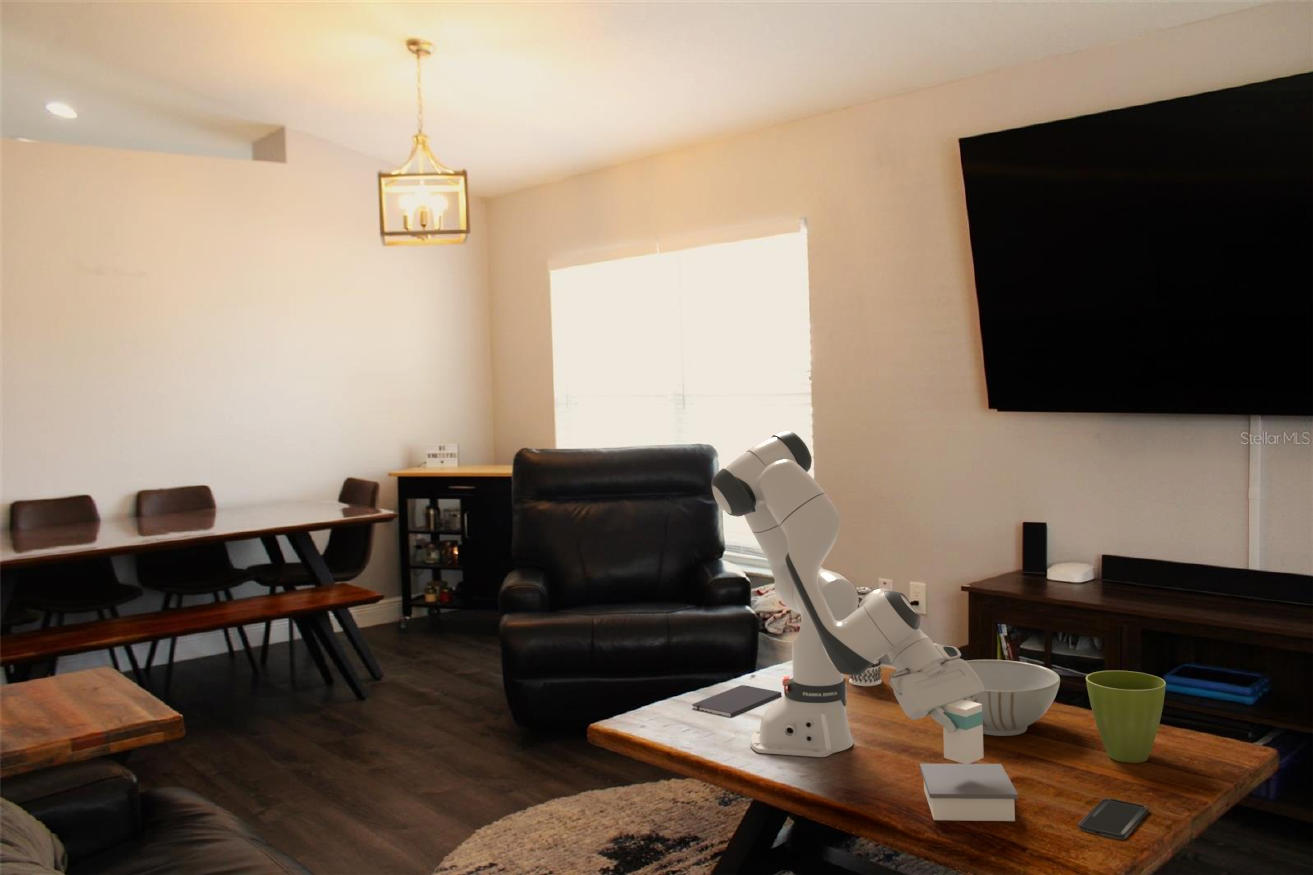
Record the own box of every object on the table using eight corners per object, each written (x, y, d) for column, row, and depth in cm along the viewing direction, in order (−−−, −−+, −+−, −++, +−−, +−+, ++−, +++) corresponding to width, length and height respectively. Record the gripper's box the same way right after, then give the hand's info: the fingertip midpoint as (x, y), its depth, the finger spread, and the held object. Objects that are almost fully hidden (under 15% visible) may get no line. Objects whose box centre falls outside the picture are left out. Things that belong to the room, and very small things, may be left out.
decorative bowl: (984, 754, 216) (982, 697, 215) (914, 719, 241) (912, 668, 241) (1088, 736, 224) (1087, 681, 224) (1010, 703, 250) (1008, 654, 249)
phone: (1150, 807, 184) (1123, 836, 173) (1150, 813, 184) (1124, 842, 173) (1104, 797, 189) (1075, 824, 178) (1104, 803, 189) (1076, 831, 178)
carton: (943, 757, 190) (942, 704, 190) (960, 751, 193) (958, 698, 193) (967, 764, 186) (965, 710, 186) (983, 758, 189) (982, 704, 189)
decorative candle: (848, 686, 270) (844, 592, 269) (847, 676, 279) (844, 585, 278) (883, 686, 269) (880, 591, 268) (881, 677, 278) (878, 585, 277)
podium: (930, 821, 184) (929, 793, 183) (920, 789, 199) (919, 763, 198) (1019, 822, 182) (1018, 794, 181) (1001, 789, 197) (1001, 764, 196)
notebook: (731, 719, 248) (781, 698, 264) (730, 713, 248) (781, 692, 264) (690, 710, 257) (742, 690, 273) (690, 704, 257) (742, 684, 273)
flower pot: (1076, 745, 219) (1074, 671, 218) (1147, 743, 218) (1145, 668, 218) (1105, 771, 204) (1103, 691, 203) (1181, 768, 203) (1179, 688, 203)
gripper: (894, 665, 188) (940, 730, 181) (962, 646, 200) (1007, 706, 193) (875, 685, 192) (920, 749, 184) (943, 664, 204) (987, 724, 197)
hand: (965, 727), depth 189 cm, fingers closed on carton, 5 cm apart
